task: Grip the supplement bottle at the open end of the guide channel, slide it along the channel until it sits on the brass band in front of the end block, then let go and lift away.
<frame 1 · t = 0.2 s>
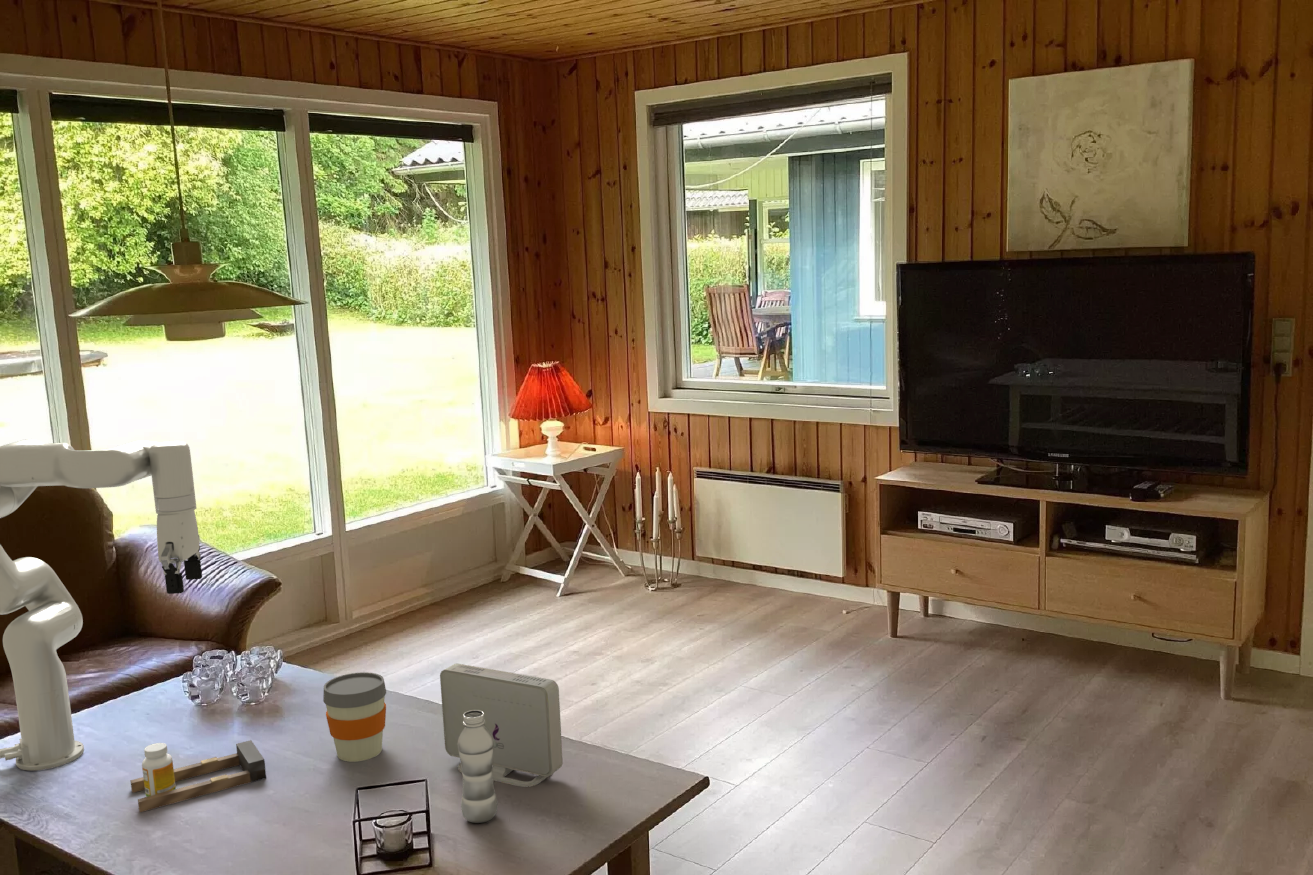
hand: (185, 585, 226), 37 cm above the table, tool pointing down, fingers open, 9 cm apart
reusable coffee cup: (359, 752, 232), on the table
plastic bottle: (480, 819, 202), on the table
supplement bottle: (161, 795, 216), on the table
network device: (504, 771, 221), on the table
guide channel: (199, 784, 220), on the table
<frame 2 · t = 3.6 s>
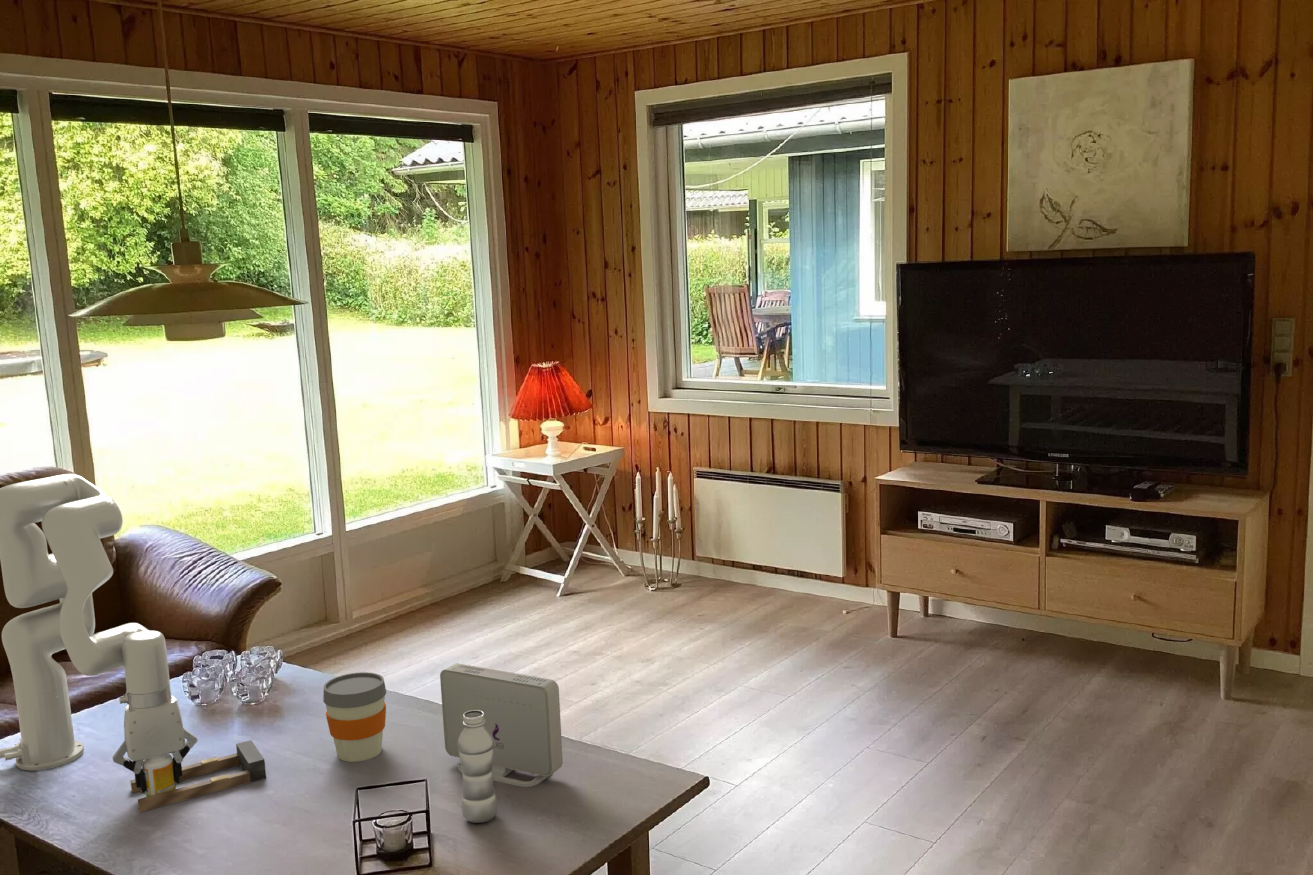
hand: (159, 784, 216), 2 cm above the table, tool pointing down, fingers closed on supplement bottle, 5 cm apart
supplement bottle: (161, 795, 216), on the table, touching gripper
everything else where it was.
when the fingers open (3 cm above the table, at t = 7.4 s): supplement bottle stays where it is, on the table.
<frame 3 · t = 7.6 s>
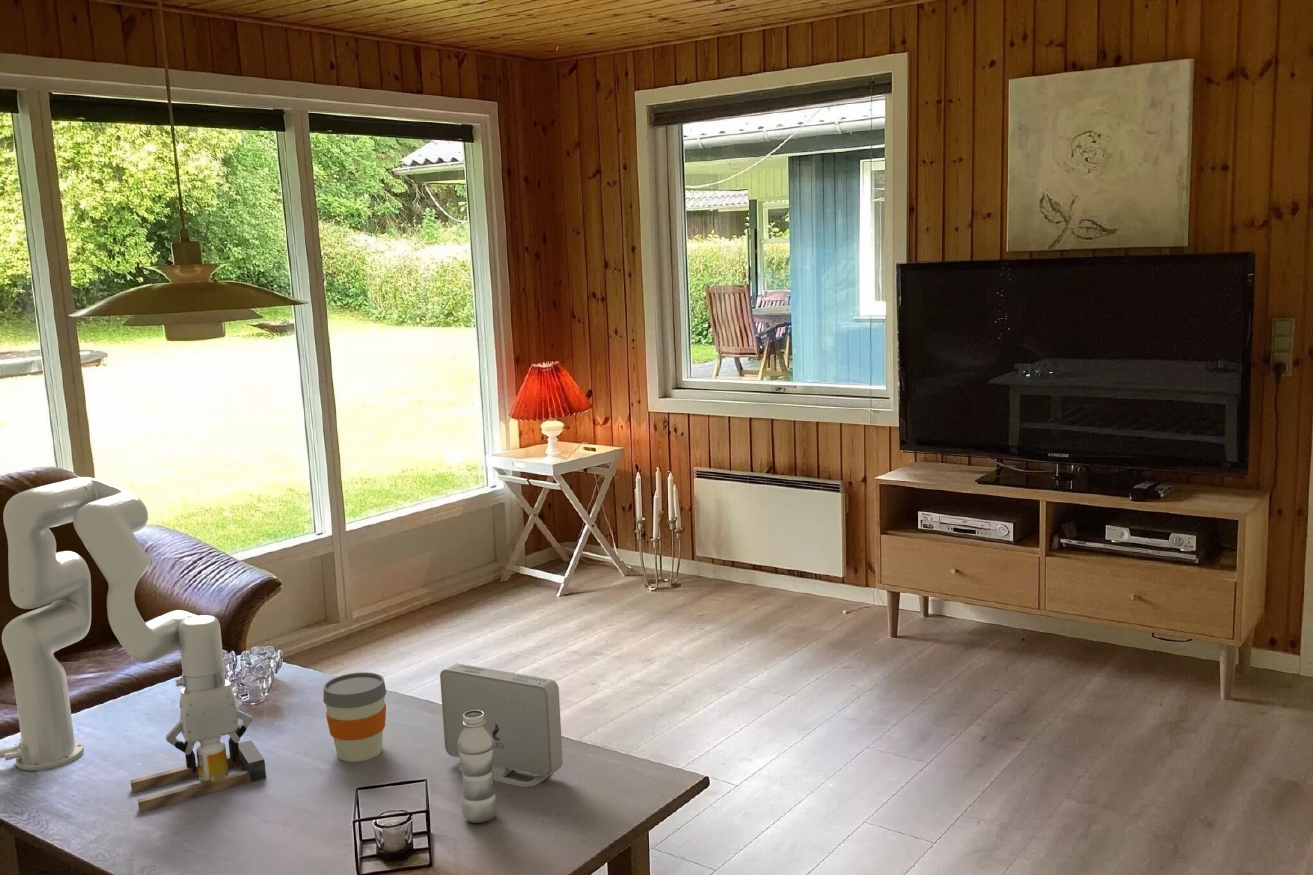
hand: (213, 764, 221), 3 cm above the table, tool pointing down, fingers open, 7 cm apart
supplement bottle: (214, 780, 222), on the table
everything else where it was.
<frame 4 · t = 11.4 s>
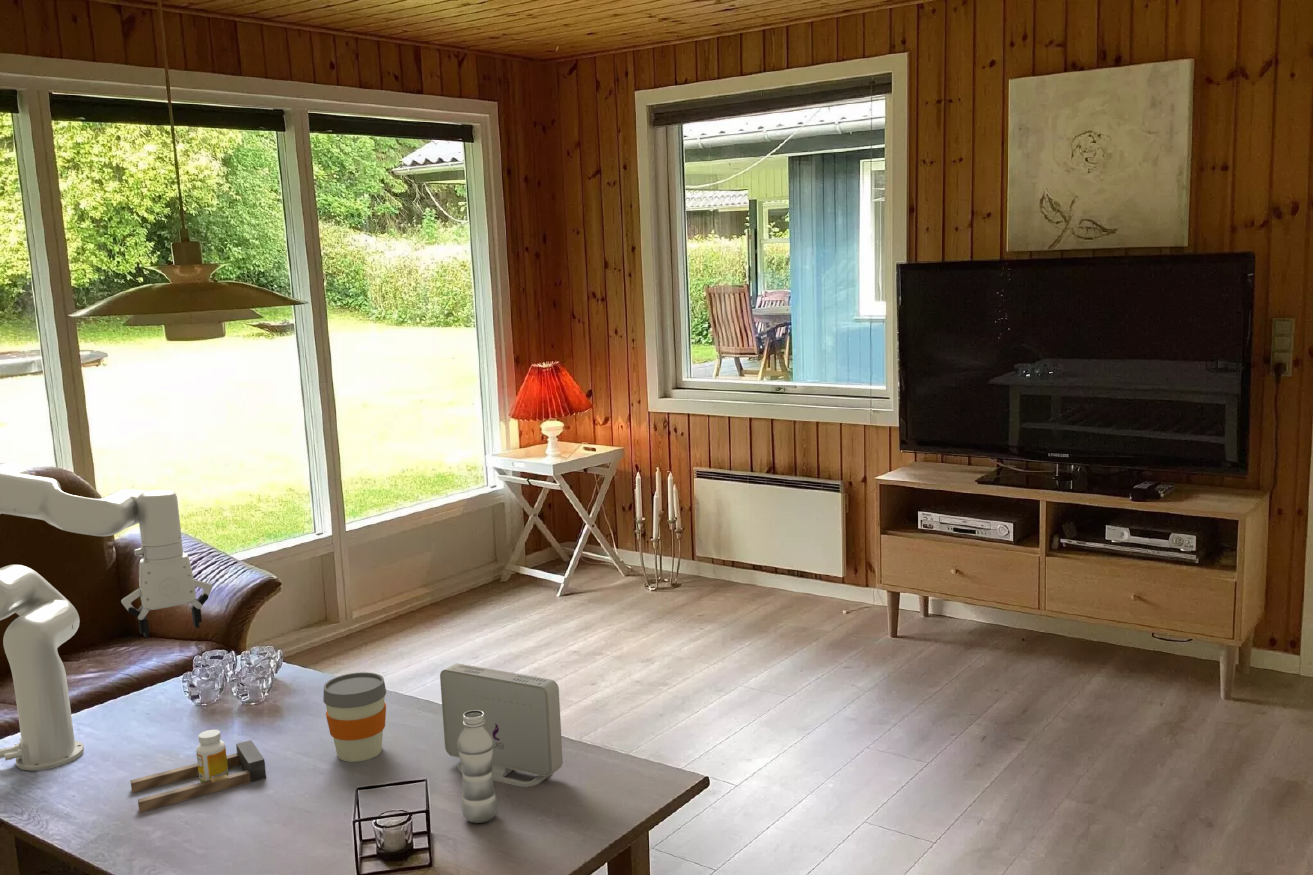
hand: (171, 631, 231), 26 cm above the table, tool pointing down, fingers open, 9 cm apart
nothing on the table moved.
at the end: supplement bottle 0.5 cm from the target spot, on the table; supplement bottle tilted 0°; the gripper is holding nothing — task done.
